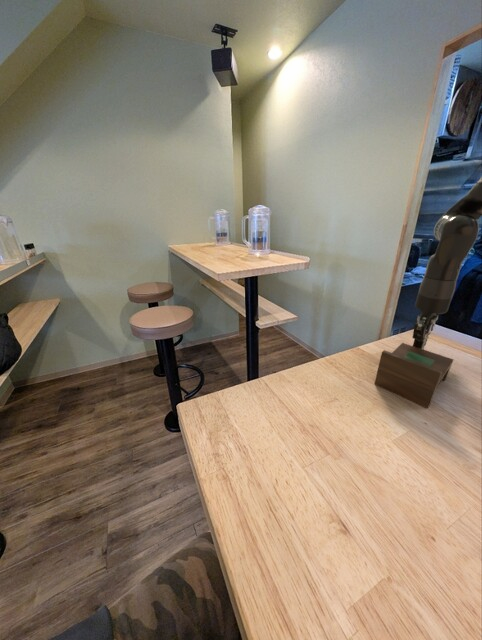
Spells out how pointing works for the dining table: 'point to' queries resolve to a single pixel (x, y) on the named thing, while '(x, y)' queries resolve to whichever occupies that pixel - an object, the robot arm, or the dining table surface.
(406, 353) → the wooden stand
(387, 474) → the dining table surface
